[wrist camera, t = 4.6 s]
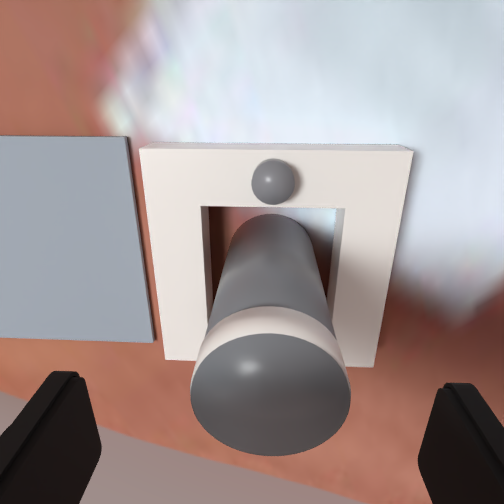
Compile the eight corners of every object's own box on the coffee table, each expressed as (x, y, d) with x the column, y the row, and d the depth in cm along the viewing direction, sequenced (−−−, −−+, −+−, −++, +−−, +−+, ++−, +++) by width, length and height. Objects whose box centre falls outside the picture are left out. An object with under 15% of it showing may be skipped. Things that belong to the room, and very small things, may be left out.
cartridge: (317, 214, 18) (362, 339, 9) (310, 292, 20) (342, 460, 11) (226, 212, 18) (182, 333, 9) (229, 289, 20) (194, 453, 11)
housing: (397, 144, 16) (420, 154, 14) (364, 343, 21) (377, 378, 19) (153, 142, 17) (132, 151, 14) (174, 337, 22) (161, 369, 19)
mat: (126, 136, 17) (124, 137, 17) (154, 339, 22) (153, 342, 22) (-74, 134, 17) (-80, 135, 17) (-2, 334, 22) (-6, 337, 22)
